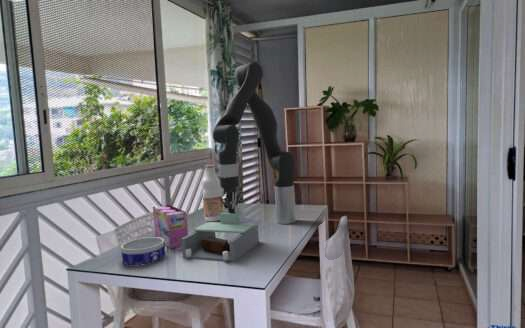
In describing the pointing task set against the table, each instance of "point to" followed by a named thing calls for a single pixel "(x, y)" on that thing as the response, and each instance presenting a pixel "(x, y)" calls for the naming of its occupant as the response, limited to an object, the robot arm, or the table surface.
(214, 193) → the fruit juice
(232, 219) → the cover
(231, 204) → the robot arm
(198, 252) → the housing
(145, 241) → the dog bowl
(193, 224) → the table surface
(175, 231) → the gum box
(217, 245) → the brick
